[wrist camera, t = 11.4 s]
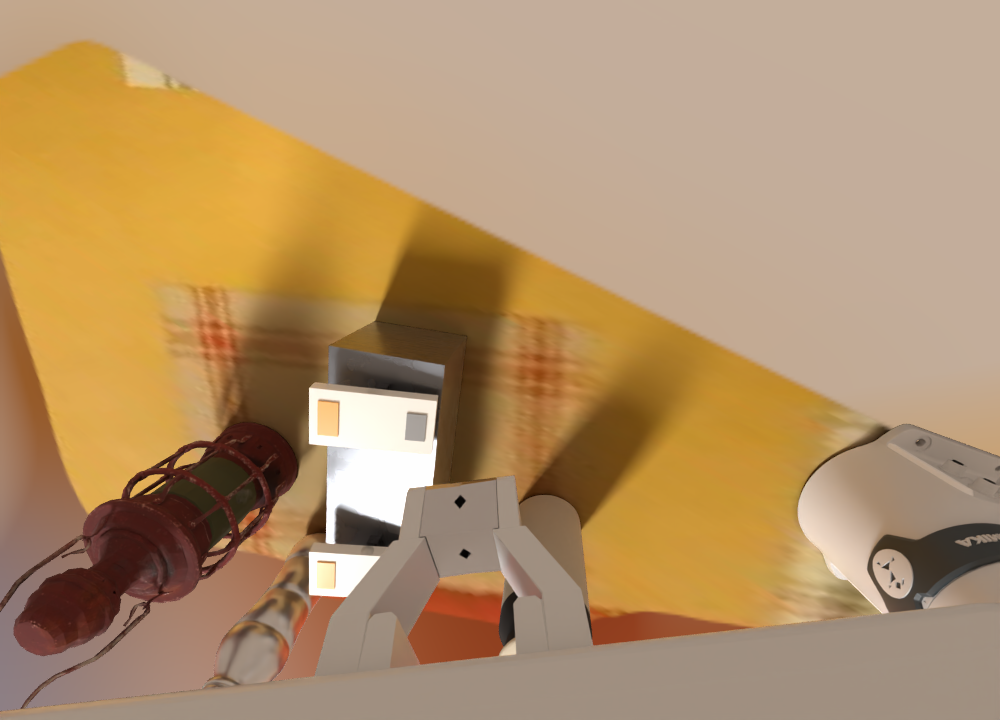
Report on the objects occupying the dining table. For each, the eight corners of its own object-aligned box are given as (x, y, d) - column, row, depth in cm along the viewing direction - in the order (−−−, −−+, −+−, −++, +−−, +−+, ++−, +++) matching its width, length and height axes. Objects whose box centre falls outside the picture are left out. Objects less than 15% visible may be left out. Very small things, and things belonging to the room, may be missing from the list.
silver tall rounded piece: (297, 525, 55) (163, 683, 36) (346, 525, 54) (236, 687, 35) (307, 566, 56) (185, 737, 37) (356, 567, 56) (255, 742, 37)
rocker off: (422, 549, 40) (421, 560, 39) (418, 589, 42) (417, 601, 41) (313, 542, 39) (308, 553, 38) (313, 584, 41) (308, 596, 40)
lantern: (192, 438, 52) (-234, 690, 24) (265, 399, 50) (-117, 630, 21) (250, 515, 55) (-70, 824, 26) (324, 482, 52) (53, 788, 24)
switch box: (466, 336, 45) (441, 369, 34) (443, 537, 53) (417, 613, 42) (372, 320, 45) (319, 348, 35) (363, 521, 53) (317, 593, 43)
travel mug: (499, 522, 51) (474, 670, 34) (542, 480, 49) (539, 616, 32) (549, 560, 52) (549, 723, 35) (594, 521, 50) (618, 675, 32)
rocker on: (438, 395, 35) (436, 401, 34) (432, 448, 37) (431, 456, 36) (314, 382, 34) (308, 388, 33) (314, 436, 36) (308, 444, 35)
